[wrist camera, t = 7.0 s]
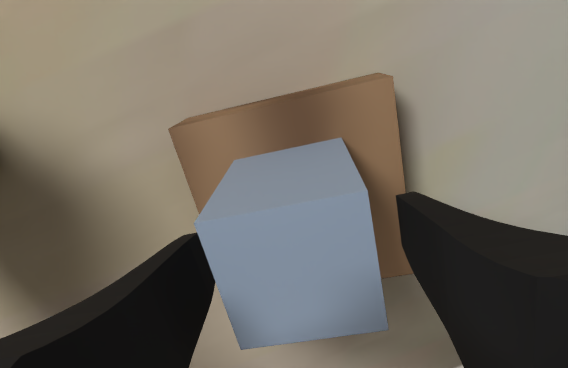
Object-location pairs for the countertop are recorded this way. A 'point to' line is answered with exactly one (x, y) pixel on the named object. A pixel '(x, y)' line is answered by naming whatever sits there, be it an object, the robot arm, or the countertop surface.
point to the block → (294, 247)
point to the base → (302, 131)
